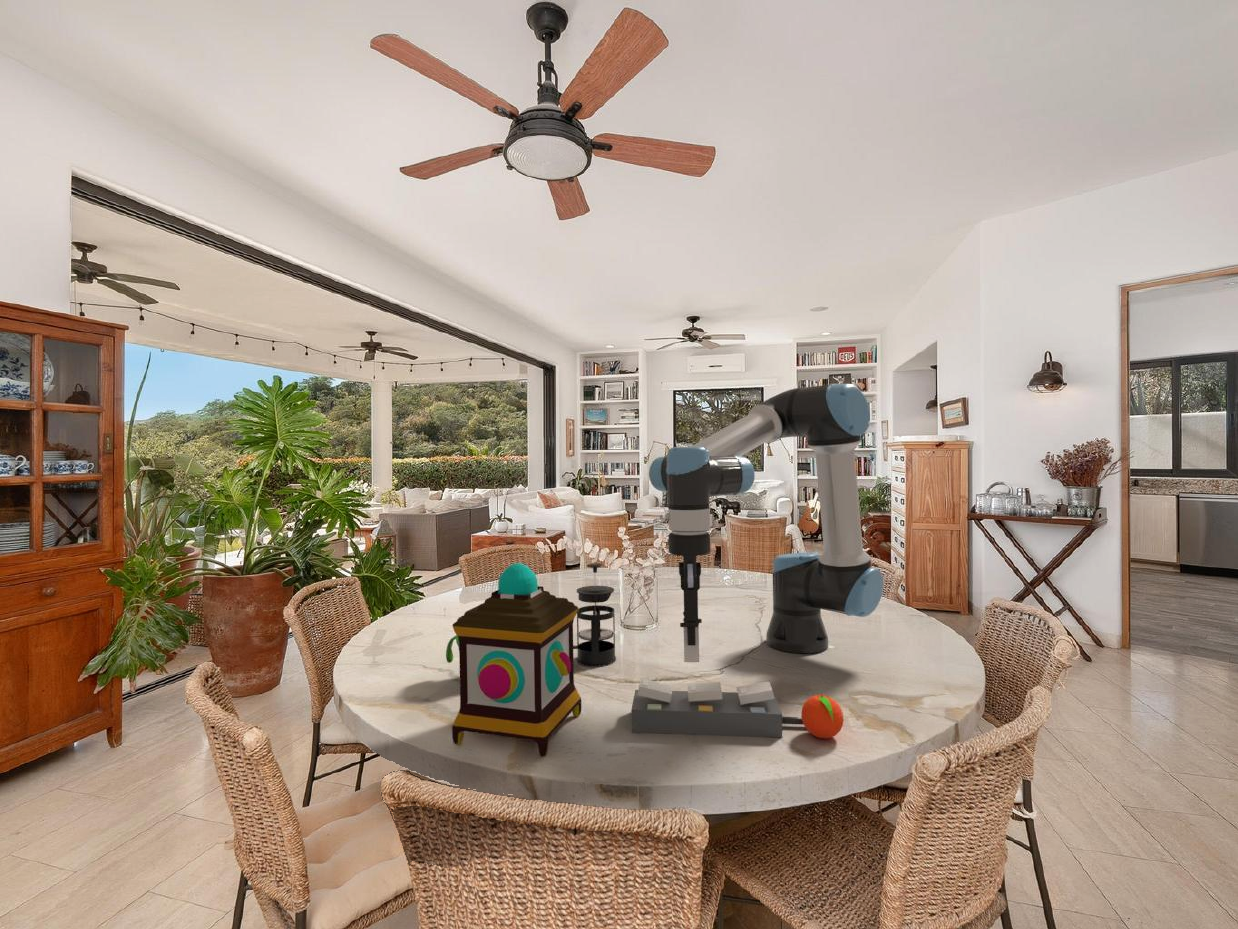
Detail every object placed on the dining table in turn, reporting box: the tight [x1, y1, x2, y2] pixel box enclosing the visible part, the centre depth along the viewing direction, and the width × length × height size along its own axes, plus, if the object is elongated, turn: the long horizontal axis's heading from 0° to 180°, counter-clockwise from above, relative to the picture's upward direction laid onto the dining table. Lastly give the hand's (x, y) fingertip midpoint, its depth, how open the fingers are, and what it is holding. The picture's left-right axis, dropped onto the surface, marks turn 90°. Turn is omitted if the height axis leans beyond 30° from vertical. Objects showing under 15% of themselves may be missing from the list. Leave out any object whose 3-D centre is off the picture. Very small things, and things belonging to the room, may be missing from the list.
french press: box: [573, 562, 617, 668], centre depth 144 cm, size 12×9×23 cm
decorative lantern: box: [451, 562, 582, 758], centre depth 108 cm, size 20×20×30 cm
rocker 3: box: [736, 681, 775, 705], centre depth 109 cm, size 6×4×2 cm, turn 84°
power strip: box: [630, 689, 804, 738], centre depth 109 cm, size 32×9×4 cm, turn 84°
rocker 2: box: [687, 681, 723, 701], centre depth 110 cm, size 6×4×2 cm, turn 84°
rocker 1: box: [637, 677, 673, 703], centre depth 110 cm, size 6×4×2 cm, turn 84°
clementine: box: [800, 694, 844, 739], centre depth 104 cm, size 8×7×7 cm
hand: (691, 660), depth 110 cm, fingers closed
